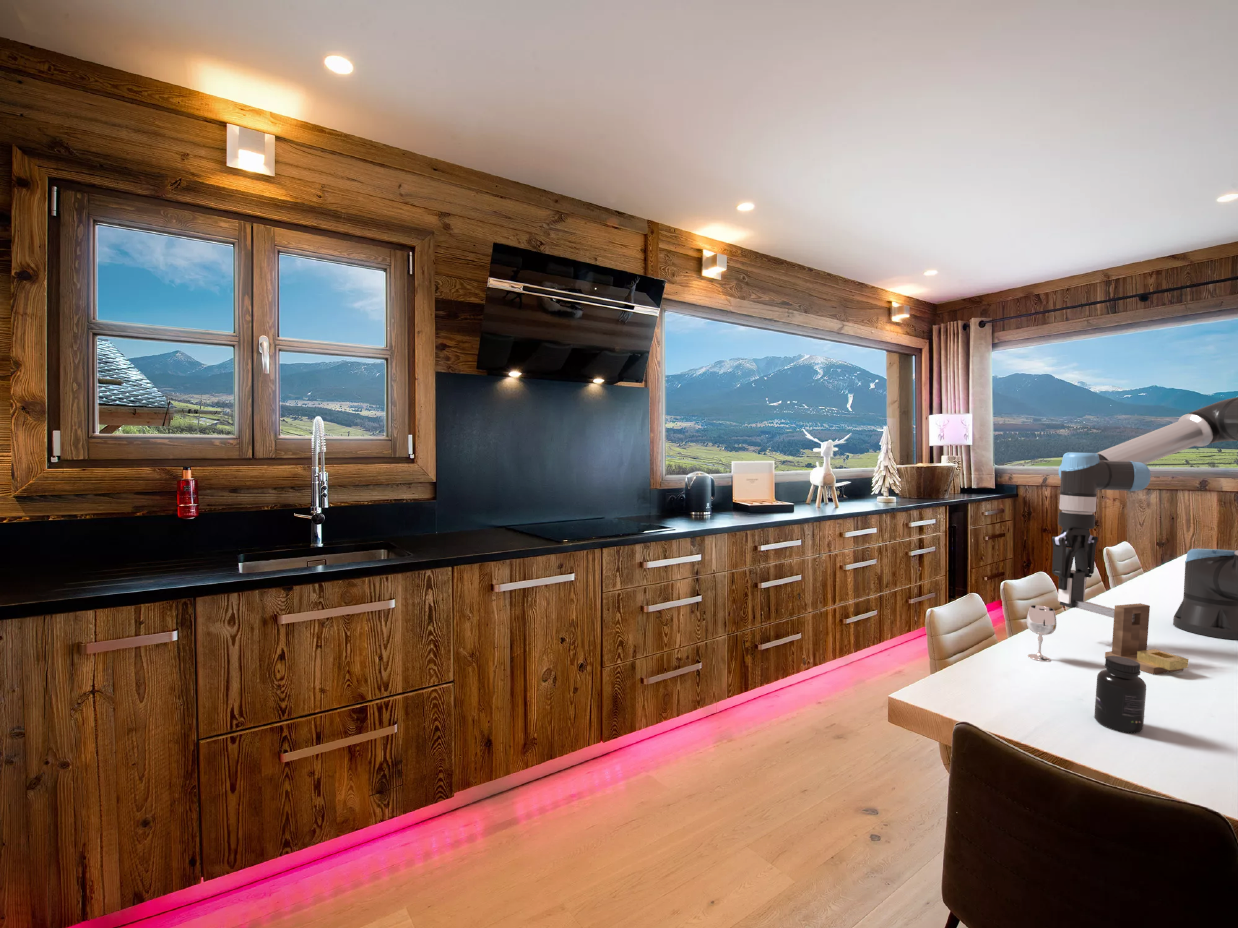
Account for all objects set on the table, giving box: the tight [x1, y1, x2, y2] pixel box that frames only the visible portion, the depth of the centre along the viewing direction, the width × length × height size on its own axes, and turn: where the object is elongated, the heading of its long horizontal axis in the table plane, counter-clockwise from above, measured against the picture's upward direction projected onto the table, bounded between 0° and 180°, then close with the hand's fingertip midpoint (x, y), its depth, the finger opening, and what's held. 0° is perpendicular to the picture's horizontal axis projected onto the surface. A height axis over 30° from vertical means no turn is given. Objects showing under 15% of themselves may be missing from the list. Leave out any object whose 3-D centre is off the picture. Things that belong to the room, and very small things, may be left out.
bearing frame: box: [1104, 603, 1184, 676], centre depth 139 cm, size 10×10×13 cm
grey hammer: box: [1059, 569, 1135, 622], centre depth 148 cm, size 16×4×9 cm, turn 18°
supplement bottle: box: [1093, 656, 1147, 734], centre depth 107 cm, size 7×7×12 cm
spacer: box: [1137, 648, 1189, 670], centre depth 135 cm, size 2×6×6 cm
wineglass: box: [1026, 604, 1058, 662], centre depth 141 cm, size 6×6×12 cm
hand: (1071, 601), depth 155 cm, fingers open, 4 cm apart
